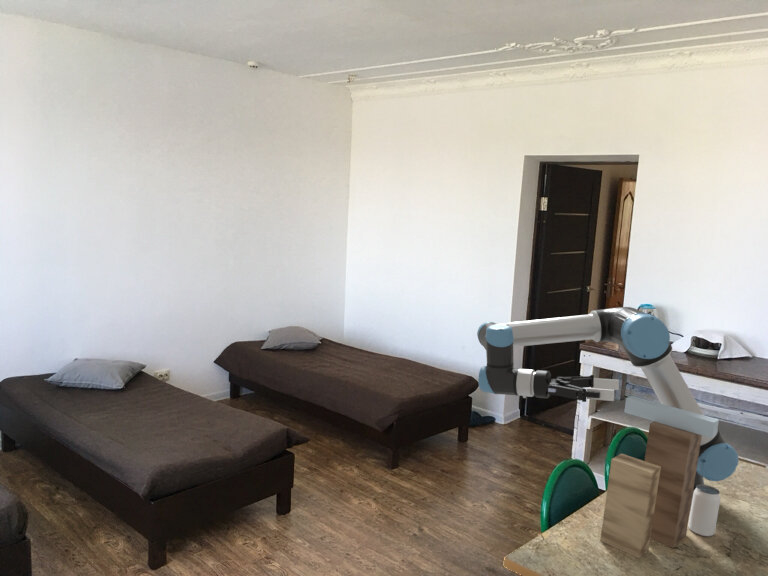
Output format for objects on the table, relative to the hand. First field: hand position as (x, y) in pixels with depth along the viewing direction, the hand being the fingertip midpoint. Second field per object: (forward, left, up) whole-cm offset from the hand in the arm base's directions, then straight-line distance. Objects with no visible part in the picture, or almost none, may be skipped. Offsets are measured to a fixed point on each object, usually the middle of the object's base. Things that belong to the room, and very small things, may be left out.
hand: (616, 390), depth 163 cm
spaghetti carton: (-9, +11, -7) cm, 16 cm away
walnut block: (-9, +13, -37) cm, 41 cm away
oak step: (+5, +9, -37) cm, 39 cm away
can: (-20, +20, -38) cm, 47 cm away
